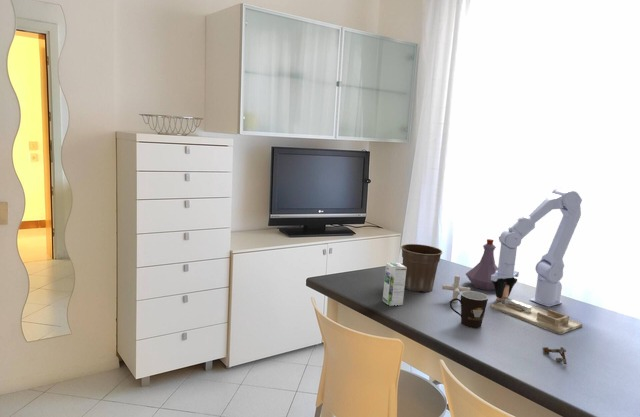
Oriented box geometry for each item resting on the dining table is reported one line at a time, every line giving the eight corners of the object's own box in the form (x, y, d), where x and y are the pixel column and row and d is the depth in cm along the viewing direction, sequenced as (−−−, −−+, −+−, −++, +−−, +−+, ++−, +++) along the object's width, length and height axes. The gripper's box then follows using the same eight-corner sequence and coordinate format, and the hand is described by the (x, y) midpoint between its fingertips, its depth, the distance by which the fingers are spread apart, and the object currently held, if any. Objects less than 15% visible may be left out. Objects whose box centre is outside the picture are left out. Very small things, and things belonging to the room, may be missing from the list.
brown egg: (500, 297, 184) (502, 282, 183) (509, 301, 181) (511, 286, 180) (494, 299, 182) (496, 284, 181) (503, 302, 179) (505, 287, 178)
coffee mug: (484, 321, 158) (488, 293, 157) (484, 331, 150) (488, 301, 149) (449, 315, 162) (452, 287, 160) (447, 324, 154) (450, 295, 152)
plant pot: (443, 287, 193) (447, 248, 190) (430, 297, 180) (434, 256, 177) (406, 278, 202) (410, 241, 199) (391, 287, 188) (394, 248, 185)
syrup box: (381, 300, 173) (385, 262, 170) (396, 299, 175) (399, 262, 172) (388, 306, 167) (392, 267, 165) (403, 305, 169) (407, 266, 167)
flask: (482, 278, 208) (487, 234, 205) (514, 290, 195) (520, 243, 191) (455, 282, 200) (461, 236, 197) (487, 295, 186) (493, 246, 183)
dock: (513, 301, 181) (514, 292, 180) (581, 326, 159) (583, 316, 159) (490, 307, 173) (491, 298, 172) (559, 334, 152) (560, 324, 151)
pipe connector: (469, 308, 171) (472, 281, 169) (441, 304, 173) (444, 278, 171) (467, 298, 180) (469, 273, 179) (440, 295, 182) (442, 270, 181)
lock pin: (504, 302, 176) (505, 297, 175) (531, 312, 167) (531, 306, 167) (501, 303, 175) (502, 297, 174) (527, 313, 166) (528, 307, 166)
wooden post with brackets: (565, 364, 129) (562, 347, 130) (544, 362, 137) (542, 346, 138) (570, 364, 130) (568, 347, 131) (550, 362, 137) (547, 346, 138)
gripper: (509, 257, 186) (504, 290, 188) (485, 261, 178) (481, 295, 180) (525, 262, 180) (520, 296, 183) (502, 266, 172) (497, 302, 175)
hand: (502, 296), depth 181 cm, fingers closed on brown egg, 4 cm apart
